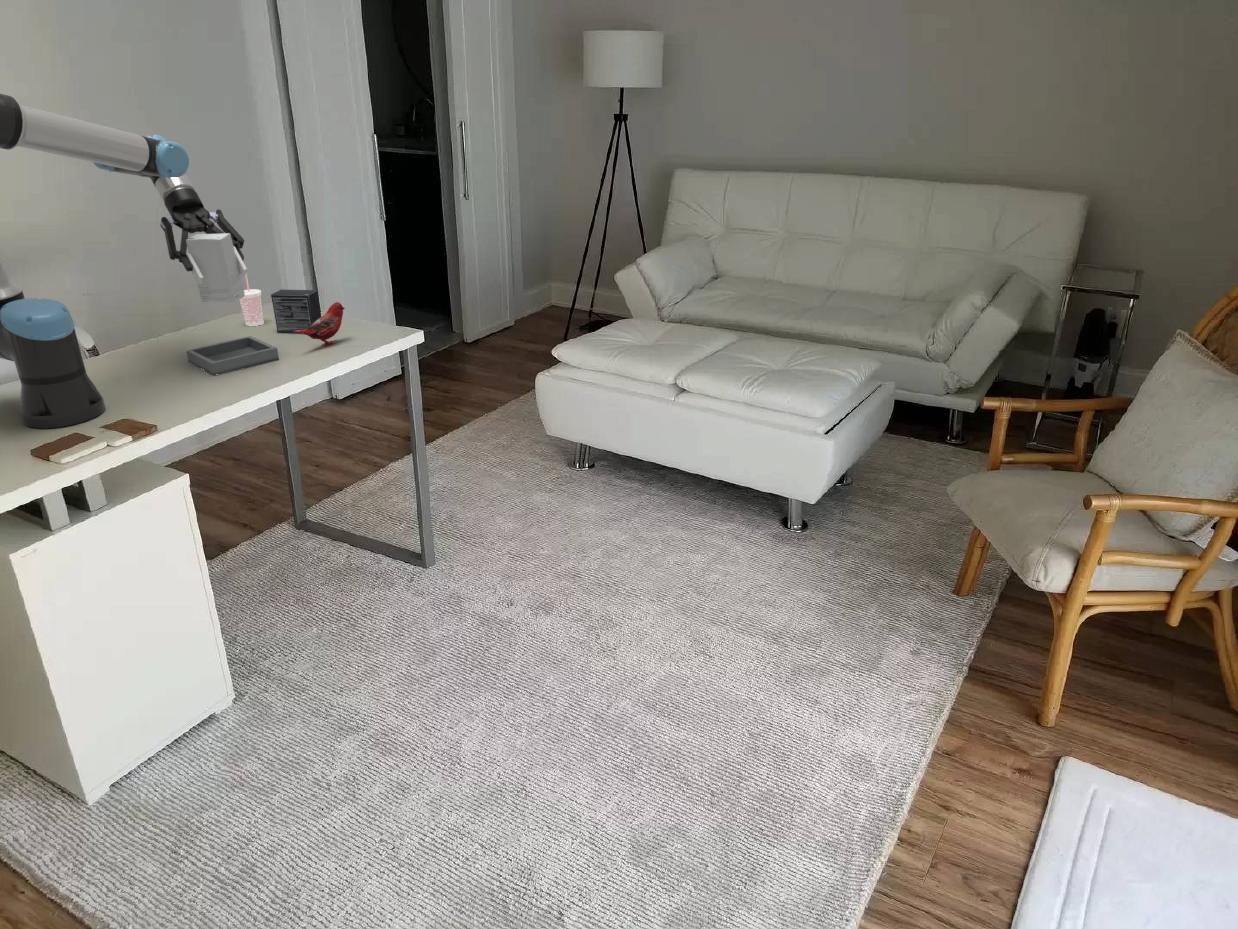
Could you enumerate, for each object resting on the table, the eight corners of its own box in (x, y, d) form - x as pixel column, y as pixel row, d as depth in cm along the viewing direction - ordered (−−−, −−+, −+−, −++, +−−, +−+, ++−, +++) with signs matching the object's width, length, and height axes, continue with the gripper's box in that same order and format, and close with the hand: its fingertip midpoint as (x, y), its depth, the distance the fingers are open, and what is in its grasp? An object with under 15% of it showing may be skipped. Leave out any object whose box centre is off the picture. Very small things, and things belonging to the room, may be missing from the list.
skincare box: (245, 296, 211) (233, 232, 205) (234, 303, 206) (221, 238, 199) (210, 295, 212) (197, 232, 205) (198, 302, 206) (184, 237, 200)
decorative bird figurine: (352, 338, 234) (347, 300, 229) (299, 357, 220) (293, 317, 216) (344, 336, 235) (339, 299, 231) (291, 355, 221) (284, 315, 217)
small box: (324, 327, 243) (318, 289, 239) (314, 334, 237) (308, 295, 233) (286, 326, 244) (280, 288, 239) (276, 333, 238) (269, 294, 234)
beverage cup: (238, 325, 244) (228, 274, 238) (255, 319, 249) (246, 269, 243) (254, 328, 242) (244, 277, 236) (271, 322, 247) (262, 272, 240)
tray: (214, 375, 208) (211, 363, 206) (188, 362, 217) (186, 350, 215) (279, 359, 218) (277, 347, 217) (252, 347, 227) (250, 335, 226)
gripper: (224, 201, 217) (266, 277, 214) (128, 213, 203) (171, 295, 200) (229, 180, 211) (272, 258, 208) (131, 192, 197) (175, 276, 194)
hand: (223, 276), depth 204 cm, fingers closed on skincare box, 9 cm apart
